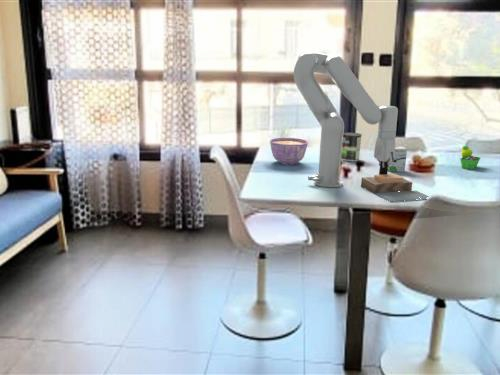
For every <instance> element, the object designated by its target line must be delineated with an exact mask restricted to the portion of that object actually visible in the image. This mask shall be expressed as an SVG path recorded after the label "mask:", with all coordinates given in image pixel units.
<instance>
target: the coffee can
mask: <svg viewBox="0 0 500 375" xmlns="http://www.w3.org/2000/svg"><path fill="white" fill-rule="evenodd" d="M361 142H362V133H358V132H344V134H343V141H342V154H341V161H346V162H357V161H356V160H359V161H360V155H361V154H360V153H361V152H360V151H361Z"/></svg>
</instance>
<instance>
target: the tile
mask: <svg viewBox="0 0 500 375" xmlns="http://www.w3.org/2000/svg"><path fill="white" fill-rule="evenodd" d="M373 177H374V179H375V180H377V181H379V182H381V183H397V182H403V178H404V177H402V176H401V175H398V174H396V173H387V174H380V175H379V174H374V176H373Z"/></svg>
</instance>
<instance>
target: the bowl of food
mask: <svg viewBox="0 0 500 375" xmlns="http://www.w3.org/2000/svg"><path fill="white" fill-rule="evenodd" d="M269 144H270V149H271V154H272V157H273V159H274V160H276V161H277V162H279V163H280V164H282V165H296V163H299V162H301V161H302V160H303V159H304V158H305V154H306V152H307V148H308V146H309V145H308V144H309V141H308V140H306V139H303V138H295V137H276V138H275V137H274V138H272V139H269Z"/></svg>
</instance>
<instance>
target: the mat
mask: <svg viewBox="0 0 500 375" xmlns="http://www.w3.org/2000/svg"><path fill="white" fill-rule="evenodd" d="M375 195H376V196H378V197H380V198H381V197H382V198H381V199H383V198H384V201H385V200H386V201H387V200H388V202H389V201H390V202H389V203H393V202H392V201H401V202H405V201H404V200H416V199H420V198H421V199H426V198H427V197H430V196H429V195H427V194H425V193H422V192H420V191H418V190H412V191H400V192H385V193H375ZM419 197H420V198H419ZM416 201H417V200H416Z"/></svg>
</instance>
